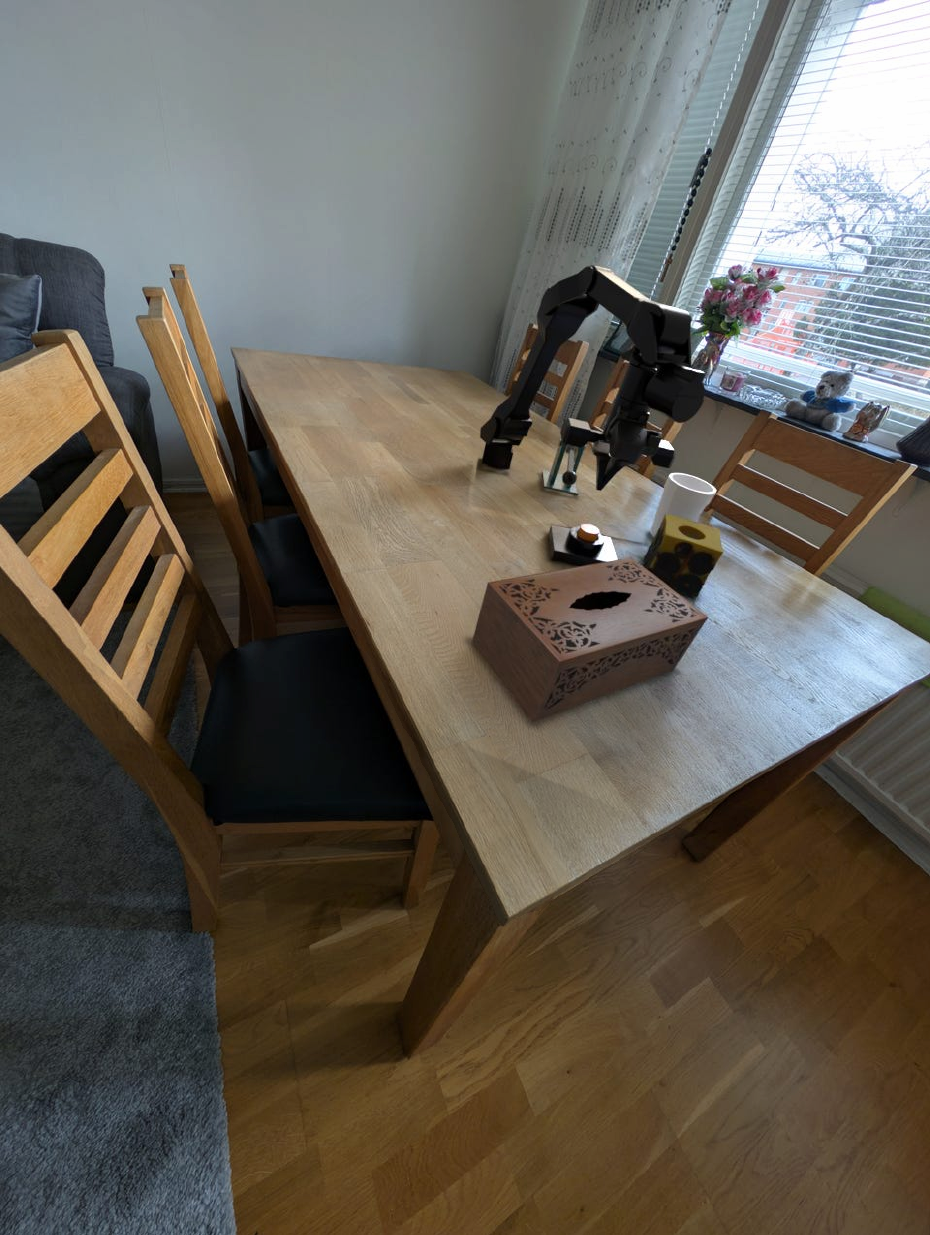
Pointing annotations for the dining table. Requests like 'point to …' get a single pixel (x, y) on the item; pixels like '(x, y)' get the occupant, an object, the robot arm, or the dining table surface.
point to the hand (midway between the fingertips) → (598, 489)
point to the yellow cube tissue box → (683, 554)
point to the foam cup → (683, 498)
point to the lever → (570, 467)
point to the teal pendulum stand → (553, 478)
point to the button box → (579, 547)
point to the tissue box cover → (582, 633)
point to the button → (588, 532)
